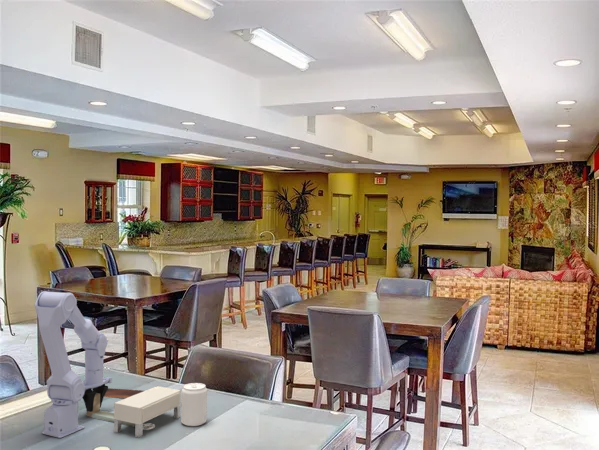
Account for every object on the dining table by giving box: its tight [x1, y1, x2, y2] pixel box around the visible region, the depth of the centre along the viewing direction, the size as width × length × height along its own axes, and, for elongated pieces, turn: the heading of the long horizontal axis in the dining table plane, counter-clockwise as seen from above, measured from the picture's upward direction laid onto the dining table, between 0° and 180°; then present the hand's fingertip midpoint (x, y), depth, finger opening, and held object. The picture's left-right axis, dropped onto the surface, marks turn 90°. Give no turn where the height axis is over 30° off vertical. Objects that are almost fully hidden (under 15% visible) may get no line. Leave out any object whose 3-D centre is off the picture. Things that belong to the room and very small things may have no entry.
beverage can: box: [180, 382, 208, 427], centre depth 180 cm, size 8×8×12 cm
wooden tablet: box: [104, 387, 144, 400], centre depth 208 cm, size 26×2×10 cm
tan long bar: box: [85, 393, 135, 428], centre depth 182 cm, size 4×21×7 cm, turn 65°
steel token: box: [143, 422, 156, 431], centre depth 176 cm, size 4×4×1 cm
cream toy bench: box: [113, 385, 182, 439], centre depth 178 cm, size 20×10×9 cm, turn 155°
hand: (93, 409), depth 186 cm, fingers closed on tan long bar, 3 cm apart
